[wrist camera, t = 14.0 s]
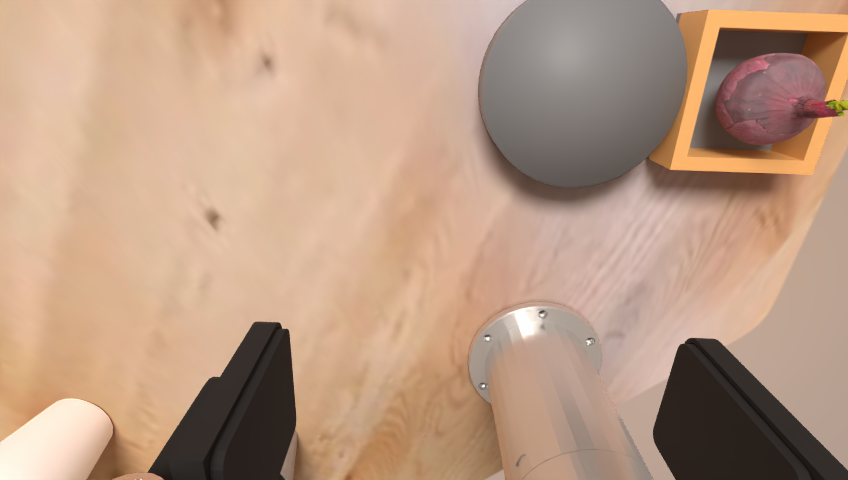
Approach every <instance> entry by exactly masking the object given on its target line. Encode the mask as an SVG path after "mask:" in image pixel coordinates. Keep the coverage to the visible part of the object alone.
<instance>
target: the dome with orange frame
mask: <svg viewBox="0 0 848 480" xmlns="http://www.w3.org/2000/svg"><path fill="white" fill-rule="evenodd" d="M772 53H791V54H800V55H803V56H805V57H807V58H809V59H811V60H812V61H813V62H814V63H815V64H816V65H817V66H818V67H819V68H820V69H821V71H822V73H823V75H824V78H825V82H826V90H825V97H824V101H830V100H833V99H834V100H836V101H839V100H840V98H841V95H842V92H843V89H844V87H845V84H846V81H847V78H848V15H836V14H809V13H783V12H757V11H731V10H702V11H695V12H687V13H680V14H677V19H676V20H675V18H674V17H673V15H672V13H671V12H670V11H669V9H668V8H667V7H666V6H665V4H664V3H663V2H662V1H661V0H527V1H525V2H524V3H522V4H521V5H520V6H519V7H518V8H516V9H515V10H514V11H513V12H512V13H511V14H510V15H509V16H508V17H507V18H506V20H505V21H504V22H503V23H502V24H501V26H500V27H499V29H498V30H497V31H496V33H495V34H494V36H493V38H492V40H491V42H490V44H489V46H488V48H487V51H486V53H485V56H484V58H483V62H482V66H481V70H480V76H479V85H478V97H479V106H480V111H481V115H482V119H483V122H484V124H485V127H486V129H487V131H488V133H489V135H490V137H491V138H492V140H493V142H494V143H495V144H496V146H497V147H498V149H499V150H500V151H501V152H502V154H503V155H504V156H505V158H506V159H507V160H508V161H509V162H510V163H511V164H512V165H513V166H514V167H515V168H517V169H518V170H519V171H521V172H522V173H523V174H525V175H527V176H529V177H530V178H532V179H534V180H537V181H539V182H542V183H544V184H548V185H552V186H557V187H567V188H577V187H587V186H593V185H597V184H600V183H604V182H607V181H609V180H612V179H614V178H617V177H619V176H621V175H622V174H624V173H626V172H628V171H630V170H631V169H632V168H634V167H635V166H637V165H638V164H640V163H641V162H642V161H643V160H644V159H645V158H648V159H650V160H652V161H654V162H656V163H658V164H660V165H662V166H664V167H666V168H668V169H670V170H692V171H721V172H750V173H779V174H808V175H813V172H814V169H815V166H816V164H817V161H818V158H819V155H820V153H821V150H822V147H823V144H824V142H825V139H826V136H827V133H828V131H829V128H830V125H831V122H832V120H833V117H825V118H815V119H814V121H813V122H812V123H811V124H810V125H809V127H807V128H806V129H805V130H803V131H802V132H801V133H799V134H798V135H796V136H794V137H792V138H790V139H787V140H785V141H782V142H778V143H774V144H768V145H753V144H749V143H745V142H742V141H740V140H738V139H737V138H735V137H734V136H732V135H731V134H729V133H728V132H727V131H726V130H725V129H724V128H723V126H722V125H721V123H720V122H719V120H718V118H717V115H716V110H715V101H716V95H717V92H718V90H719V87H720V85H721V83H722V82H723V80H724V78H725V77H726V76H727V74H728V73H729V72H730V71H732V70H733V69H734V68H735V67H736V66H738V65H740V64H741V63H743V62H745V61H747V60H749V59H751V58H755V57H758V56H762V55H766V54H772Z"/></svg>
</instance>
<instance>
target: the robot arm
mask: <svg viewBox="0 0 848 480" xmlns="http://www.w3.org/2000/svg"><path fill="white" fill-rule="evenodd" d="M601 362H602V350H601V344H600V342H599V339H598V337H597V334H596V333H595V331H594V329H593V328H592V326H591V325H590V324H589V323H588V321H587V320H586V319H585V318H584V317H583V316H581V315H580V314H578V313H577V312H576V311H574V310H572V309H570V308H568V307H565V306H563V305H559V304H555V303H550V302H530V303H523V304H519V305H515V306H512V307H510V308H508V309H505V310H503V311H501V312H499V313H498V314H496V315H495V316H493V317H492V318H490V319H489V320H488V321H487V322H486V323H485V324H484V325H483V326H482V327H481V328H480V330H479V331H478V332H477V334H476V335H475V337H474V339H473V341H472V343H471V346H470V350H469V355H468V367H469V373H470V378H471V380H472V383H473V385H474V387H475V389H476V390H477V392H478V393H479V395H480V396H481V397H483V398H484V399H485V400H486V401H487V402H488V403H490V404H491V405H492V409H493V415H494V420H495V426H496V431H497V437H498V442H499V447H500V453H501V458H502V464H503V469H504V474H505V479H506V480H654V479H653V477H652V476H651V474H650V472H649V470H648V468H647V466H646V464H645V462H644V461H643V458H642V457H641V455H640V453H639V451H638V449H637V447H636V445H635V443H634V441H633V439H632V438H631V436H630V434H629V432H628V430H627V428H626V426H625V425H624V422H623V421H622V419H621V417H620V415H619V413H618V411H617V409H616V407H615V405H614V404H613V402H612V400H611V398H610V396H609V394H608V392H607V390H606V388H605V387H604V385H603V383H602V381H601V379H600V377H599V375H598V374H599V371H600V368H601ZM295 426H296V407H295V395H294V383H293V371H292V358H291V346H290V334H289V330H288V329H282V326H281V324H280V323H279V322H254V324H253V325H252V326H251V328H250V330H249V331H248V333H247V334H246V336H245V338H244V339H243V341H242V343H241V344H240V346H239V347H238V349H237V351H236V352H235V354H234V355H233V357H232V359H231V360H230V362H229V364H228V365H227V367H226V368H225V370H224V372H223V373H222V375H221V376H220V377H212V378H210V379H209V380H208V381H207V382H206V384H205V385H204V387H203V388H202V390H201V391H200V393H199V394H198V396H197V397H196V399H195V400H194V402H193V403H192V405H191V407H190V408H189V410H188V411H187V413H186V414H185V416H184V417H183V419H182V420H181V422H180V423H179V425H178V427H177V428H176V430H175V431H174V433H173V434H172V436H171V437H170V439H169V440H168V442H167V443H166V445H165V446H164V448H163V450H162V451H161V453H160V454H159V456H158V457H157V459H156V460H155V462H154V463H153V465H152V466H151V468H150V470H149V471H148V473H144V472H139V473H132V474H126V475H123V476H120V477H118V478H115V479H112V480H278V479H279V476H280V473H281V470H282V467H283V464H284V461H285V458H286V455H287V452H288V449H289V446H290V444H291V441H292V438H293V435H294V431H295ZM653 438H654V442H655V444H656V446H657V448H658V450H659V452H660V453H661V455H662V457H663V459H664V460H665V462H666V464H667V465H668V467H669V469H670V471H671V472H672V474H673V476H674V477H675V479H676V480H848V470H847V469H846V468H845V467H844V466H843V465H842V464H841V463H840V462H839V461H838V460H837V459H836V458H835V457H834V456H833V455H832V454H831V453H830V452H829V451H828V450H827V449H826V448H825V447H824V446H823V445H822V444H821V443H820V442H819V441H818V440H817V439H816V438H815V437H814V436H813V435H812V434H811V433H810V432H809V431H808V430H807V429H806V428H805V427H804V426H803V425H802V424H801V423H800V422H799V421H798V420H797V419H796V418H795V417H794V416H793V415H792V414H791V413H790V412H789V411H788V410H787V409H786V408H785V407H784V406H783V405H782V404H781V403H780V402H779V401H778V400H777V399H776V398H775V397H774V396H773V395H772V394H771V393H770V392H769V391H768V390H767V389H766V388H765V387H764V386H763V385H762V384H761V383H760V382H759V381H758V380H757V379H756V378H755V377H754V376H753V375H752V374H751V373H750V372H749V371H748V370H747V369H746V368H745V367H744V366H743V365H742V364H741V363H740V362H739V361H738V360H737V359H736V358H735V357H734V356H733V355H732V354H731V353H730V352H729V351H728V350H727V349H726V348H725V347H724V346H723V345H722V344H721V343H720V342H719V341H718V340H716V339H705V338H689V339H687V341H686V342H685V344H681V345H680V346H679V347H678V349H677V353H676V356H675V359H674V363H673V366H672V369H671V372H670V376H669V379H668V382H667V386H666V389H665V392H664V395H663V399H662V402H661V405H660V409H659V412H658V415H657V419H656V422H655V425H654V429H653Z"/></svg>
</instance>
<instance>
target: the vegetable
mask: <svg viewBox="0 0 848 480" xmlns="http://www.w3.org/2000/svg"><path fill="white" fill-rule="evenodd" d="M825 90H826V82H825V78H824V75H823V73H822V71H821V69H820V68H819V67H818V66H817V65H816V64H815V63H814V62H813V61H812V60H811V59H809V58H807V57H805V56H803V55H800V54H791V53H772V54H766V55H762V56H758V57H755V58H751V59H749V60H747V61H745V62H743V63H741V64H740V65H738V66H736V67H735V68H734V69H733V70H732V71H730V72H729V73H728V74H727V76H726V77H725V78H724V80H723V82H722V83H721V85H720V87H719V90H718V92H717V95H716V101H715V110H716V115H717V118H718V120H719V122H720V123H721V125H722V126H723V128H724V129H725V130H726V131H727V132H728V133H729V134H731V135H732V136H734V137H735V138H737V139H738V140H740V141H742V142H745V143H749V144H753V145H768V144H774V143H778V142H782V141H785V140H787V139H790V138H792V137H794V136H796V135H798V134H799V133H801V132H802V131H803V130H805V129H806V128H807V127H809V125H810V124H811V123H812V122H813V121H814V119H815V118H825V117H834V116H843V115H846V114H845V113H843V110H848V101H844V100H842V101H836V100H834V99H833V100H830V101H824V97H825Z"/></svg>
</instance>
